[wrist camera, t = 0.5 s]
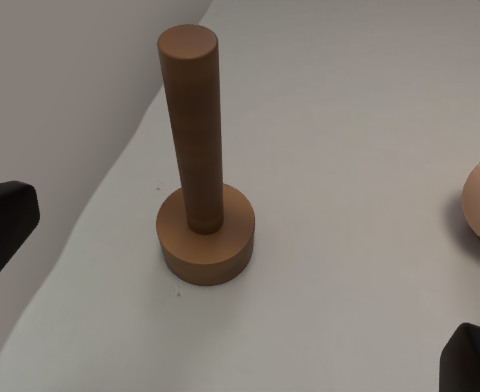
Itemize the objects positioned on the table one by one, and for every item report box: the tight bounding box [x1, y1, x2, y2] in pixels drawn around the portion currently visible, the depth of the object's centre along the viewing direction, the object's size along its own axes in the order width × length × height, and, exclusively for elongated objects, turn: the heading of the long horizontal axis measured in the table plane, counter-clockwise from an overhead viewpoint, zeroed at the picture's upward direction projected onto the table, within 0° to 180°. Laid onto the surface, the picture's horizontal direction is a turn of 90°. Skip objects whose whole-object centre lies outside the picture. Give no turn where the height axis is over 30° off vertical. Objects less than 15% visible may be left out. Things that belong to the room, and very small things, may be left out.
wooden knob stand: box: [156, 24, 255, 286], centre depth 20 cm, size 6×6×15 cm
